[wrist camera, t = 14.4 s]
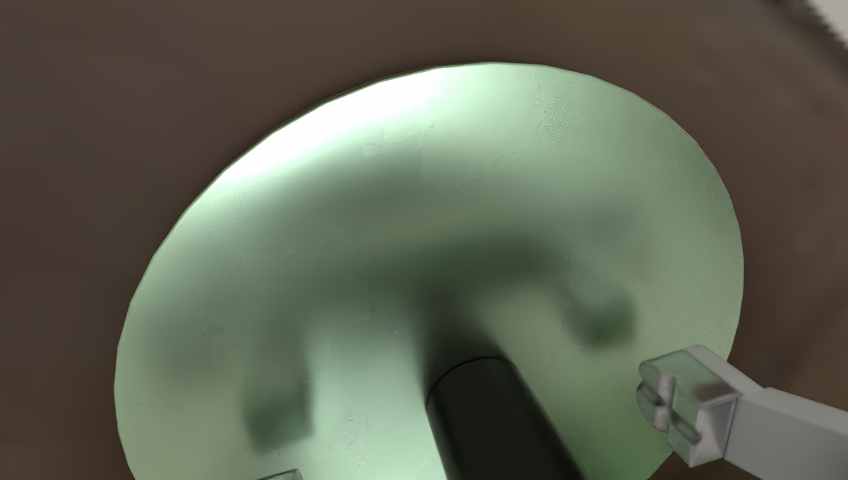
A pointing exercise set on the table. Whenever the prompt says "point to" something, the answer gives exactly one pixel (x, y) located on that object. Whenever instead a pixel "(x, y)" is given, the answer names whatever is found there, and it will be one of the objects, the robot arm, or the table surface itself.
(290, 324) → the lid
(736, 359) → the table surface
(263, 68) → the table surface
